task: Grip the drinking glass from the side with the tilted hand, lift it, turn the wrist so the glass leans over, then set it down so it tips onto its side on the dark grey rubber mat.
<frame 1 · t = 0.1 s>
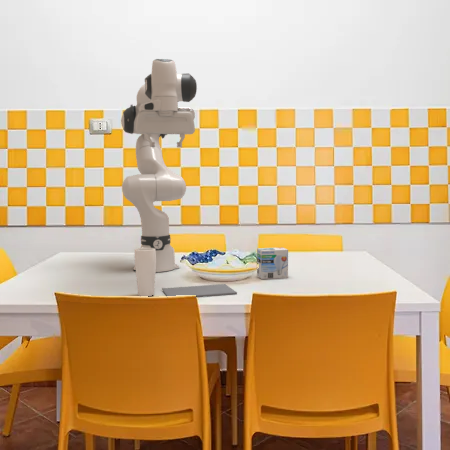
hand: (165, 147, 180), 48 cm above the table, tool pointing down, fingers open, 8 cm apart
slate rubber mat: (198, 292, 171), on the table
drinking glass: (146, 295, 167), on the table
light bulb box: (272, 277, 195), on the table
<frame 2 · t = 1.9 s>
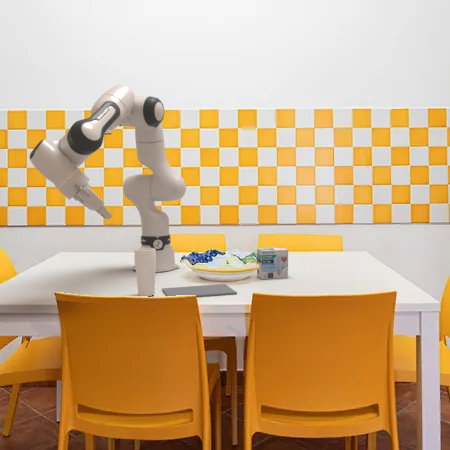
hand: (108, 217, 162), 25 cm above the table, tool tilted 45°, fingers open, 8 cm apart
nothing on the table moved.
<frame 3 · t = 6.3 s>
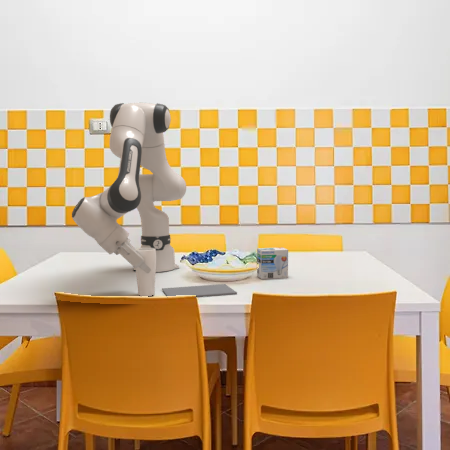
hand: (147, 269, 167), 8 cm above the table, tool tilted 45°, fingers closed on drinking glass, 7 cm apart
drinking glass: (146, 295, 167), on the table, touching gripper
everything else where it was.
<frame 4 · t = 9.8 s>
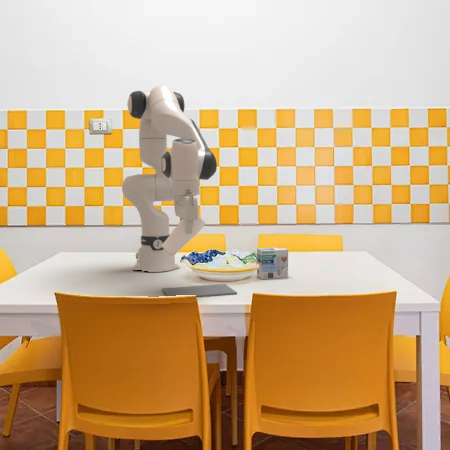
hand: (186, 232, 168), 20 cm above the table, tool pointing down, fingers closed on drinking glass, 6 cm apart
drinking glass: (166, 251, 167), point 14 cm above the table, touching gripper
everything else where it was.
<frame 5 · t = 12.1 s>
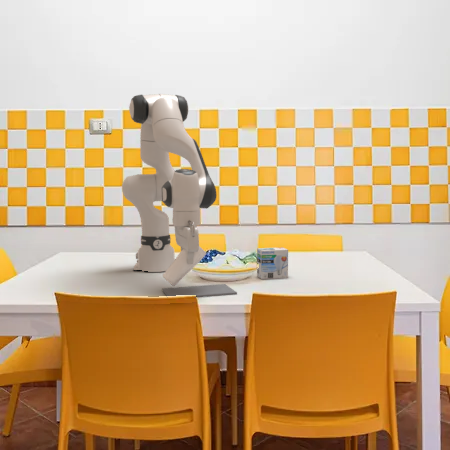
hand: (187, 262, 169), 10 cm above the table, tool pointing down, fingers closed on drinking glass, 6 cm apart
drinking glass: (167, 281, 168), point 4 cm above the table, touching gripper
everything else where it was.
when the fingers open (10 cm above the table, at t = 12.7 s): drinking glass moves 5 cm, resting on slate rubber mat.
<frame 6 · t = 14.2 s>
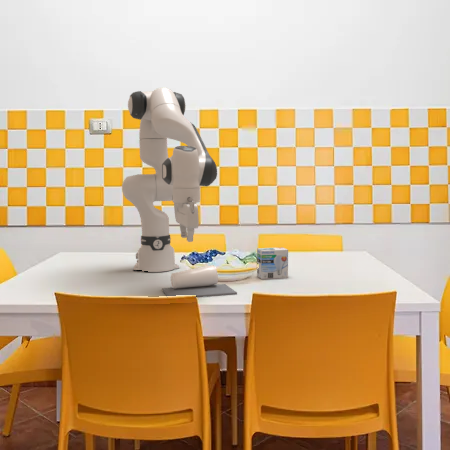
hand: (186, 239, 169), 18 cm above the table, tool pointing down, fingers open, 8 cm apart
drinking glass: (171, 281, 173), point 3 cm above the table, touching slate rubber mat
everything else where it was.
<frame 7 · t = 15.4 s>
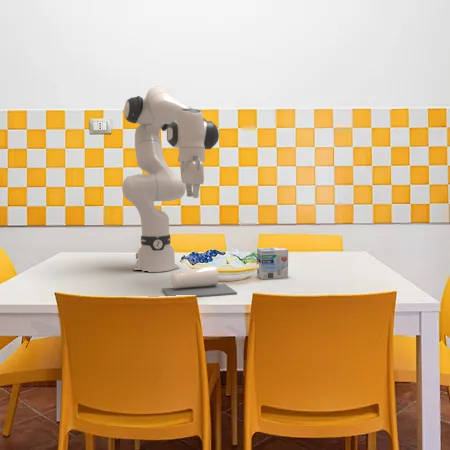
hand: (192, 197, 179), 31 cm above the table, tool pointing down, fingers open, 8 cm apart
nothing on the table moved.
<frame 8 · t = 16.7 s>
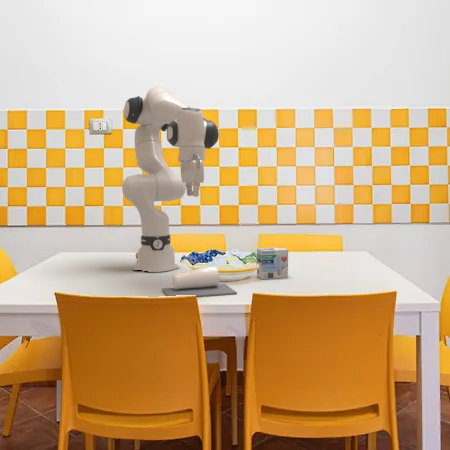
hand: (192, 196, 179), 31 cm above the table, tool pointing down, fingers open, 8 cm apart
at the end: drinking glass tilted 86°; drinking glass inside the target area (8.1 cm from its centre), point 3.3 cm above the table; the gripper is holding nothing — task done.
